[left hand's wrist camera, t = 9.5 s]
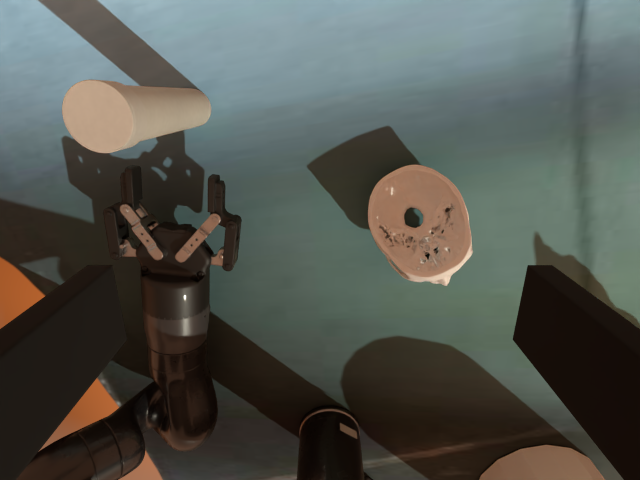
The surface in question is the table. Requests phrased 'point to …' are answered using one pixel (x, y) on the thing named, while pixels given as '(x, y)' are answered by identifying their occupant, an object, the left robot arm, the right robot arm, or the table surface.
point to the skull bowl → (438, 214)
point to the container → (543, 465)
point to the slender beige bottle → (172, 109)
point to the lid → (104, 115)
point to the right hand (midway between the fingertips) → (173, 171)
